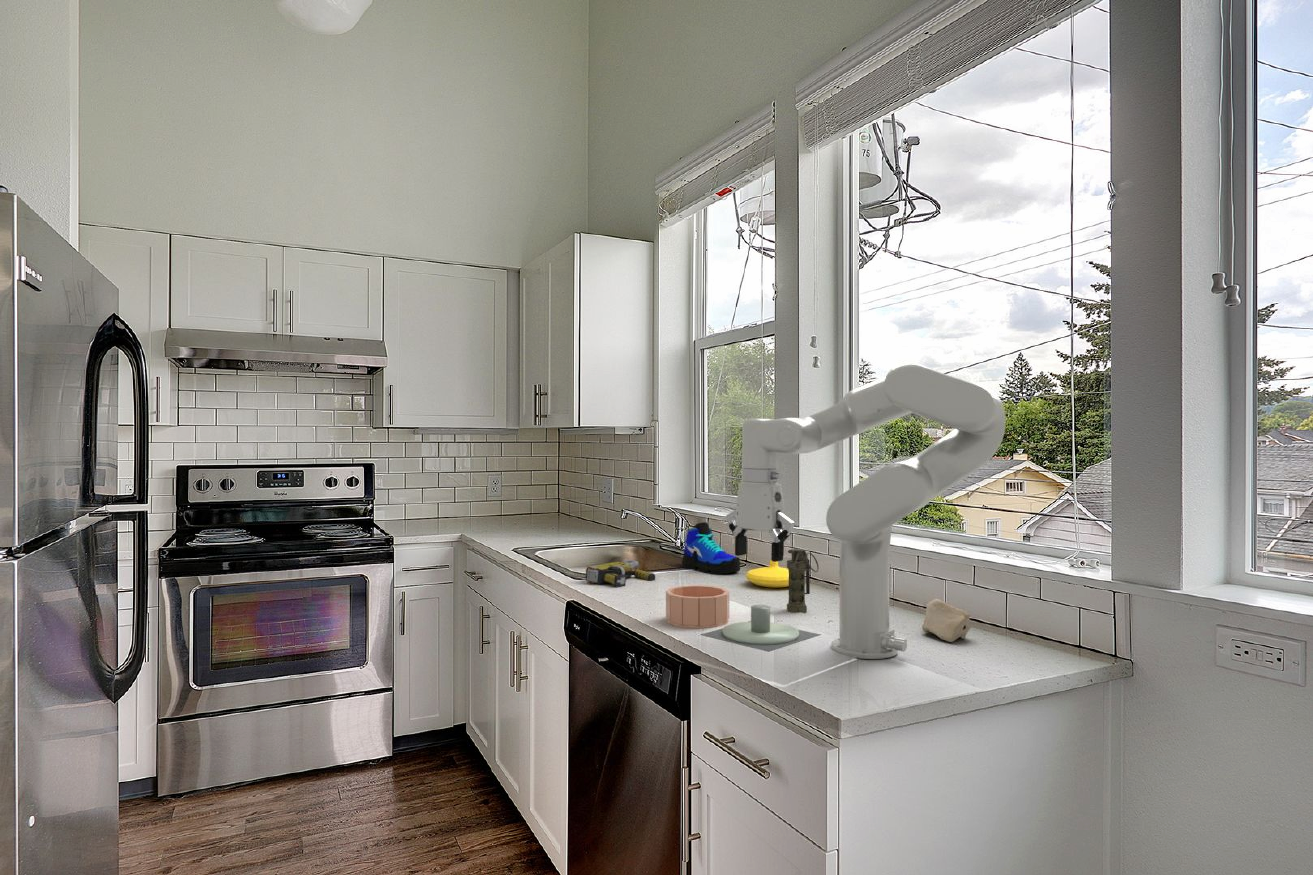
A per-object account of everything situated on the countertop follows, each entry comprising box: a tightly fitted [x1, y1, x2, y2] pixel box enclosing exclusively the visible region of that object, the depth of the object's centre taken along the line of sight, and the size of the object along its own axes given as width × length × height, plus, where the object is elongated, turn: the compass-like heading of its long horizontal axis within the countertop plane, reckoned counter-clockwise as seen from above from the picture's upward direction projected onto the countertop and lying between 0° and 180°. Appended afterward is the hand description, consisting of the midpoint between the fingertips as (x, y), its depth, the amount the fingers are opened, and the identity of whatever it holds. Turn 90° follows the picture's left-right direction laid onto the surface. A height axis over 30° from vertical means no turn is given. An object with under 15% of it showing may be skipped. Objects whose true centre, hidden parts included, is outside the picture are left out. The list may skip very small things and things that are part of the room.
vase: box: [745, 560, 789, 589], centre depth 220 cm, size 16×16×7 cm
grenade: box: [786, 548, 819, 614], centre depth 187 cm, size 9×6×15 cm, turn 118°
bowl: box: [665, 584, 730, 629], centre depth 177 cm, size 14×14×7 cm
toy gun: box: [584, 559, 656, 588], centre depth 230 cm, size 5×24×15 cm
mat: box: [699, 620, 822, 652], centre depth 165 cm, size 18×18×1 cm
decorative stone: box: [921, 598, 971, 643], centre depth 165 cm, size 7×13×7 cm, turn 21°
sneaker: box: [681, 521, 741, 575], centre depth 245 cm, size 9×24×15 cm, turn 36°
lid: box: [723, 604, 799, 645], centre depth 164 cm, size 16×16×6 cm
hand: (758, 557), depth 165 cm, fingers open, 9 cm apart
